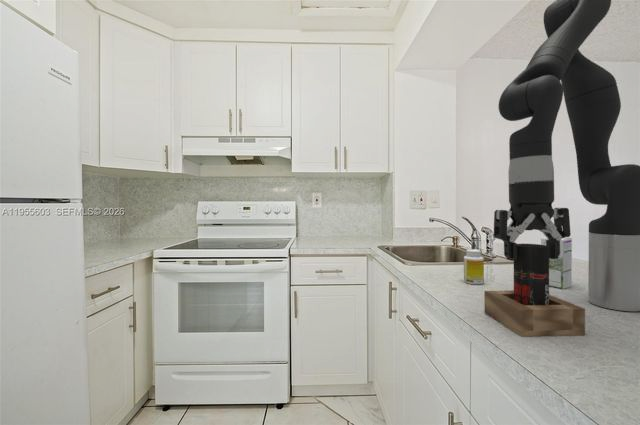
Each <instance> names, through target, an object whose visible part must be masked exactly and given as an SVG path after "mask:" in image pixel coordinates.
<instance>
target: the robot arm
mask: <svg viewBox="0 0 640 425" xmlns="http://www.w3.org/2000/svg"><path fill="white" fill-rule="evenodd" d="M611 6H612V0H555V1H553V2H552V3H551V4H549V5H548V6H547V7H546V8H545V10H544V13H543V26H544V30H545V34H546V37H547V39H546V40H544V41H543V43H542V44H541V45H540V46H539V47H538V48H537V50H536V51H535V52H534V53H533V54H532V55H533V56H532V57H531V59H530V61H529V62H528V64H527V65H526V68H525V69H523V71H522V72H520V73H519V74H518V75H517V76H516V77H515V78H514V79H513V80H512V81H511V82H510V83H509V84H508V85H507V86H506V88H505V89H504V90H503V91H502V93H501V95H500V97H499V99H498V111H499V114H500V117H502V118H503V119H504V120H506V121H509V122H515V121H517V122H518V121H522V120H525V119H528V118H531V119H530V120H529V123H528V124H526V126H523V127H522V128H520V129H518V130H515V131H514V132H512V133H511V134H510V136H509V140H508V141H509V142H508V144H509V145H508V146H509V166H508V172H507V173H508V202H509V205H510V208H509V210H506V209H496V210H495V211H494V215H493V217H494V219H493V238H495V239H497V240H501V241H502V242H503V254H504V257H505V258H506V260H508V261H512V262H514V261H516V260H517V245H516V244H517V242H516V240H517V239H518V238H519V236H520V235H522V234H523V233H524V232H525V231H533V230H536V231H539V232H541V233H542V234H543V235H544V237H547V239H549V240H546V246H549V258H551V259H558V256H559V255H560V240H561V239H562V238H570V236H571V221H570V220H571V219H570V209H569V208H568V207H554V208H553V206H552V204H553V203H554V202H555V169H554V167H555V166H554V162H553V145H552V144H553V142H552V140H553V139H552V137H553V132H554V127H555V124H556V120H557V117H558V114H559V111H560V108H561V105H562V102H563V99H564V103H565V108H566V113H567V115H568V119H569V120H568V121H569V123H570V128H571V132H572V136H573V138H572V139H573V143H574V148H575V154H576V167H577V176H578V177H577V179H578V184H579V190H580V192H581V195H582V197H583V198H584V199H585V201H587V202H588V203H590V204H593V205H598V206H599V205H600V206H601V205H603V206H606V210H605V213H604V214H603V215H601V217H598V218H595V219H592V220H590V222H589V223H588V280H587V281H588V282H587V283H588V285H587V286H588V289H587V290H588V291H587V292H588V299H587V300H588V302H589V303H590V304H593V305H594V306H599V307H602V308H604V309H605V308H606V309H610V310H616V311H623V312H640V165H639V164H635V163H628V164H620V165H612V164H611V161H610V154H609V142H610V138H611V136H612V133H613V131H614V129H615V127H616V124H617V121H618V119H619V116H620V112H621V108H622V103H621V101H622V100H621V97H620V93H619V86H618V82H617V80H616V78H615V76H614V75H613V74H612V73H611V72H610V71H608V70H607V69H605V68H604V67H602V66H601V65H599V64H597V63H596V62H594V61H592V60H590V59H589V58H587V57H586V56H585V55H584V54H583V53H582V52H581V51H580V50H579V49H580V47H581V46H582V45H583V43H584V42H585V41H586V40H587V39H588V37H589V36H590V35H591V33H592V32H593V31H594V29H595V28H596V27H597V26H598V25H599V24H600V23H601V22H602V20H603V19H605V17H606V15H607V14H608V13H609V11H610V8H611ZM595 30H596V29H595ZM552 218H553V221H552ZM509 219H511V221H510V223H509V224H508V221H509Z"/></svg>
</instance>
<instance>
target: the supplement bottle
mask: <svg viewBox="0 0 640 425" xmlns="http://www.w3.org/2000/svg"><path fill="white" fill-rule="evenodd" d="M484 265H485V258H484V257H483V256H482V251H481V250H479V249H467V250H466V255H464V256H463V281H464V283H466V284H470V285H482V284H484V282H485V271H484V270H485V266H484Z"/></svg>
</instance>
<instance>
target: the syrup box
mask: <svg viewBox="0 0 640 425" xmlns="http://www.w3.org/2000/svg"><path fill="white" fill-rule="evenodd" d="M546 240H549V239H547V237H546V236H543V237H541V239H540V245H546ZM572 252H573V239H572V237H565V238H562V239H561V240H560V255H559V256H558V259H551V258H549V287H552V288H557V289H562V290H565V289H568V288H571V287H572V286H573V276H572V274H573V273H572V272H573V271H572V270H573V269H572V266H573V265H572V264H573V260H572V259H573V257H572V255H573V254H572Z"/></svg>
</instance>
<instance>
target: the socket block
mask: <svg viewBox="0 0 640 425" xmlns="http://www.w3.org/2000/svg"><path fill="white" fill-rule="evenodd" d="M483 293H484V294H483V295H484V298H483V300H484V314H486V315H487V316H489V317H490V318H492V319H493V320H495V321H497V322H498V323H500V324H501V325H503V326H504V327H506V328H508V329H509V330H510V331H513V332H514V333H515V334H517V335H518V336H521V337H550V336H551V335H563V336H585V335H586V308H585V307H582V306H579V305H576V304H574V303H571V302H569V301H566V300H564V299H562V298H558V297H557V296H553V295H551V294H549V305H523V304H521V303H518V302H516V301H514V289H513V290H510V289H509V290H484V292H483ZM551 337H552V336H551Z"/></svg>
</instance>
